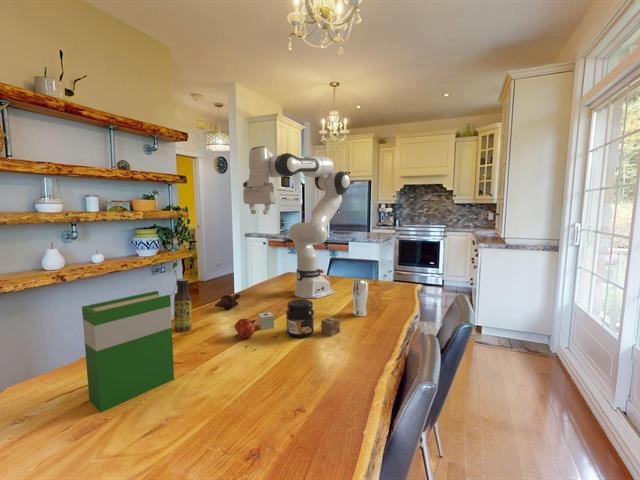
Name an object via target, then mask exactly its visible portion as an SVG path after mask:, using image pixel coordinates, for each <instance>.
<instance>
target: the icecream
mask: <svg viewBox="0 0 640 480" xmlns="http://www.w3.org/2000/svg"><path fill="white" fill-rule="evenodd" d="M240 297H241V295H240V293H239V294H235V295H233V296H232V295H228V294H227V295H226V294H225V295H223V296H221V298H220V300H219V301H217V302H216V303H215V304H214V307H216V308H217V307H218V308H221V309H224V310H226V311H229V310H231V309H234V307H236V306H238V305H239V301H237V300H238V299H239V298H240Z"/></svg>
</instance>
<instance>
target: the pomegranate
mask: <svg viewBox="0 0 640 480" xmlns="http://www.w3.org/2000/svg"><path fill="white" fill-rule="evenodd" d="M255 322H257V320H256V319H253V320H250V319H249V318H240V319H239V320H237V321H236V323H235V324H234V329H235V330H236V332H237V334H236V335H233V338H236V337H238V336H240V337H241V338H242V339H244V340H246V339H249V338H251V337H252V336H253V335H254V333H255V330H256V329H255V328H256V327H255V324H254V323H255Z"/></svg>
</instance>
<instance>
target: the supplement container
mask: <svg viewBox="0 0 640 480" xmlns="http://www.w3.org/2000/svg"><path fill="white" fill-rule="evenodd" d="M286 305H287V310H286V311H285V315H286V317H285V318H286V334H287V335H288V336H290V337H291V338H295V339H296V338H297V339H298V338H299V339H303V338H308V337H310V336H312V335H313V334H314V331H315V328H314V320H315V318H314V317H315V316H314V315H315V309H313V308H314V307H313V305H314V303H313V301H312V300H309V299H307V298H296V299H292V300H289V301H288V302H287V304H286Z"/></svg>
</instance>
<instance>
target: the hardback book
mask: <svg viewBox="0 0 640 480" xmlns="http://www.w3.org/2000/svg"><path fill="white" fill-rule="evenodd" d="M81 313H82V324H83V325H82V327H83V338H84V339H83V340H84V350H85V363H86V375H87V389H88V390H87V391H88V399H89V402H90V403H91V404H92V405H93V406H94V407H95V409H97V410H98V411H99V412H100V413H104V412H105V411H108V410H111V409H112V408H114V407H116V406H118V405H121V404H123V403H125V402H128V401H130V400H132V399H134V398H137V397H138V396H141V395H143V394H145V393H147V392H150V391H151V390H153V389H154V390H155V389H156V388H159V387H161V386H163V385H166V384H168V383H169V382H172V381H174V380H175V369H174V368H175V366H174V346H173V343H174V342H173V325H172V324H173V323H172V302H171V295H170V294H166V295H163V296H162V295H160V294H159V290H155V291H149V292H145V293H144V292H143V293H140V294H136V295H130V296H126V297H122V298H116V299H112V300H107V301H102V302H97V303H92V304H88V305H84V306H81Z"/></svg>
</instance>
